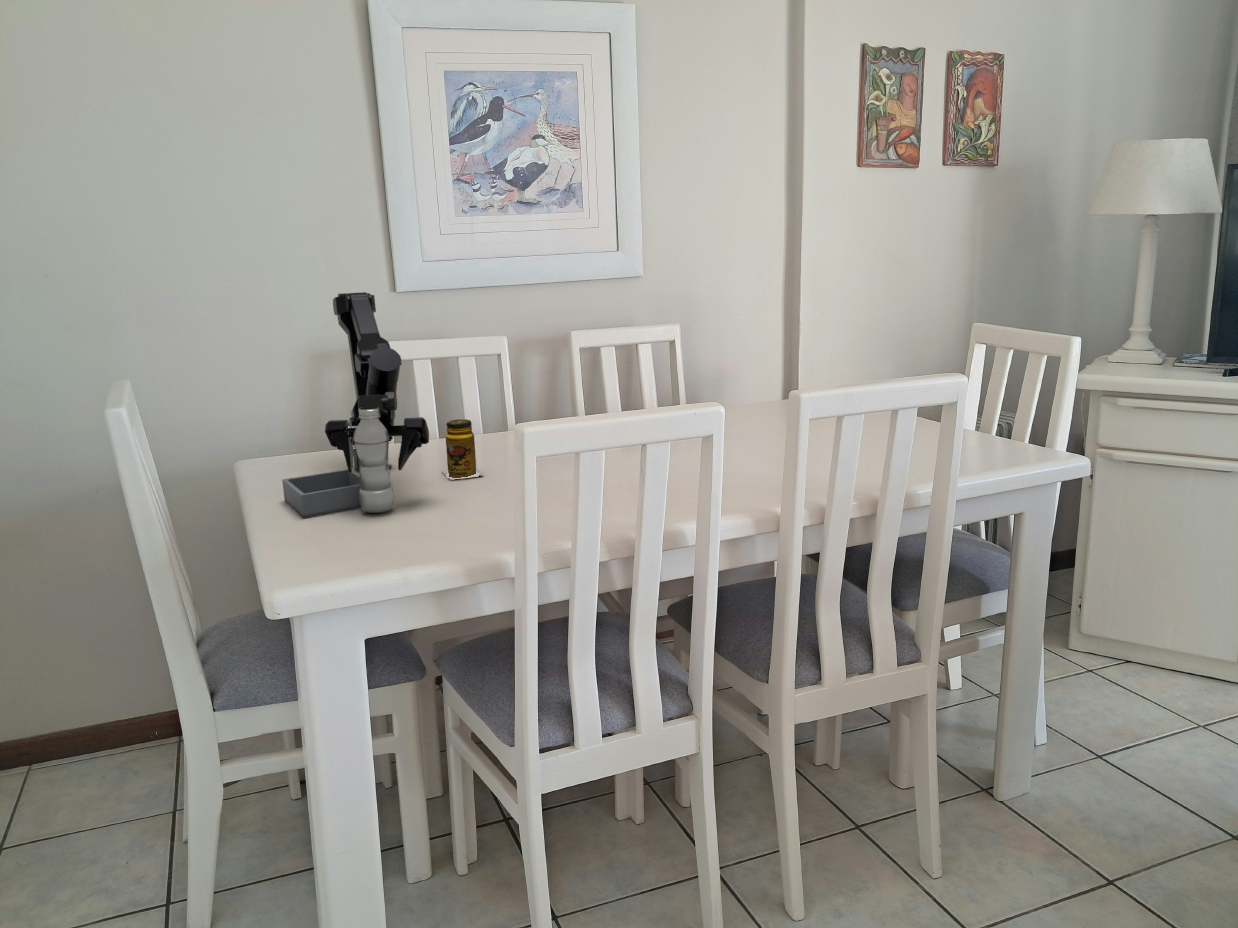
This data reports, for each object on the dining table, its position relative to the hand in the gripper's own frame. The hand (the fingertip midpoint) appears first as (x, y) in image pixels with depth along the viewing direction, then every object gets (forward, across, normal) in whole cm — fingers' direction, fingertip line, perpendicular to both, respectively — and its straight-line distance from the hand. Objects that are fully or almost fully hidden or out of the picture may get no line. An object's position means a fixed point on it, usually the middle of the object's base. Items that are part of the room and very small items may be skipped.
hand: (374, 470), depth 174 cm
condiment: (-12, +13, +24) cm, 30 cm away
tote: (+1, -11, +10) cm, 15 cm away
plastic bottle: (+6, 0, +6) cm, 8 cm away
